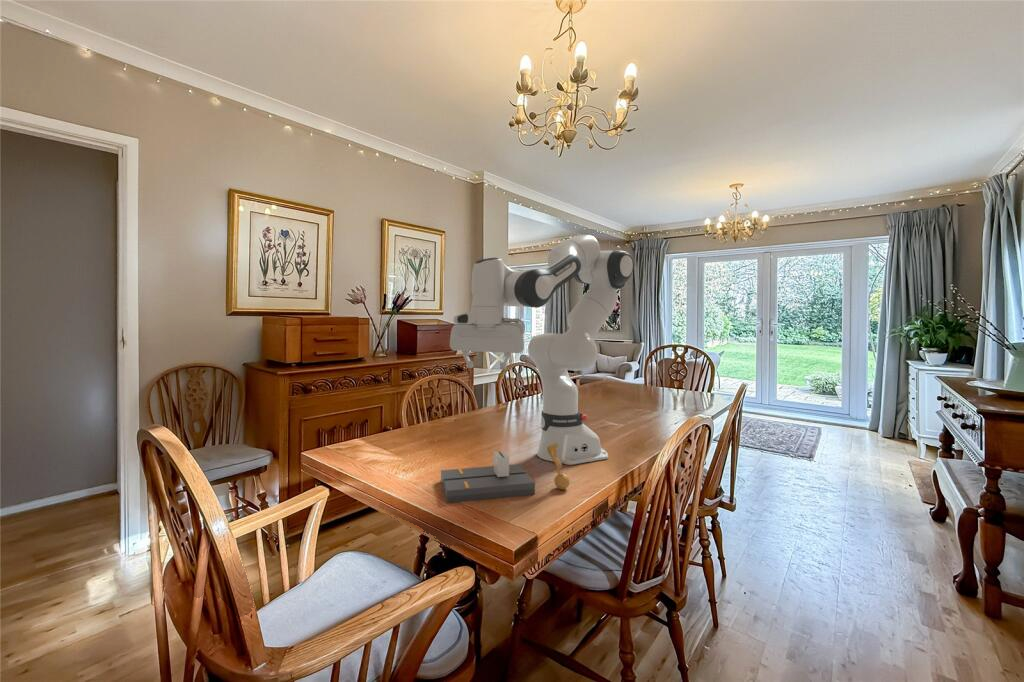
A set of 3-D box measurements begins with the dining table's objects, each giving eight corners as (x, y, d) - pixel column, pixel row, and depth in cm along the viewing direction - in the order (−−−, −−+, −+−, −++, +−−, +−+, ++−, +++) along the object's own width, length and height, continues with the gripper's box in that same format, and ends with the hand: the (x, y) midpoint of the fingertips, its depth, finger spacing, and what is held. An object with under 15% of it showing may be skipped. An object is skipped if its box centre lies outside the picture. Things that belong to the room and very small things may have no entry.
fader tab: (504, 475, 119) (504, 451, 118) (508, 482, 115) (509, 456, 114) (493, 476, 118) (494, 452, 118) (497, 483, 114) (497, 457, 113)
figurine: (570, 495, 111) (571, 448, 110) (546, 494, 111) (547, 447, 111) (568, 482, 119) (569, 439, 118) (546, 482, 120) (546, 438, 119)
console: (519, 474, 125) (519, 463, 125) (534, 494, 112) (534, 481, 111) (440, 481, 119) (440, 469, 119) (447, 503, 106) (447, 489, 106)
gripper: (527, 318, 121) (525, 368, 122) (455, 316, 125) (455, 365, 126) (522, 318, 115) (521, 371, 116) (448, 316, 119) (447, 368, 120)
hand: (486, 368), depth 121 cm, fingers open, 8 cm apart
